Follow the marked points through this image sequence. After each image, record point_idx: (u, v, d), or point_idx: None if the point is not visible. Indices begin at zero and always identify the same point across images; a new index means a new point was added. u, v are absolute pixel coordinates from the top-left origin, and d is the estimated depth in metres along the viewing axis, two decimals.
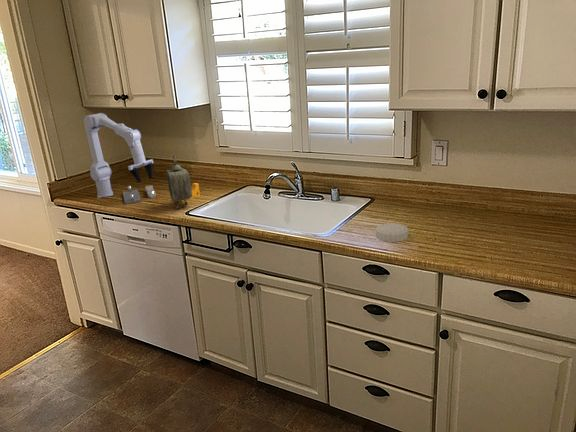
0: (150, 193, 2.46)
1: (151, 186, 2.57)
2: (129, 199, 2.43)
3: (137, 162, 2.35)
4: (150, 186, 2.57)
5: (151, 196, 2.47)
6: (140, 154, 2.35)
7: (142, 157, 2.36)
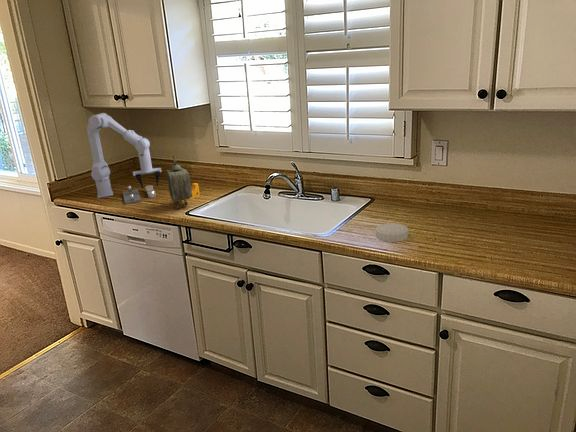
0: (150, 193, 2.46)
1: (151, 186, 2.57)
2: (129, 199, 2.43)
3: (141, 169, 2.47)
4: (150, 186, 2.57)
5: (151, 196, 2.47)
6: (144, 163, 2.45)
7: (146, 166, 2.46)
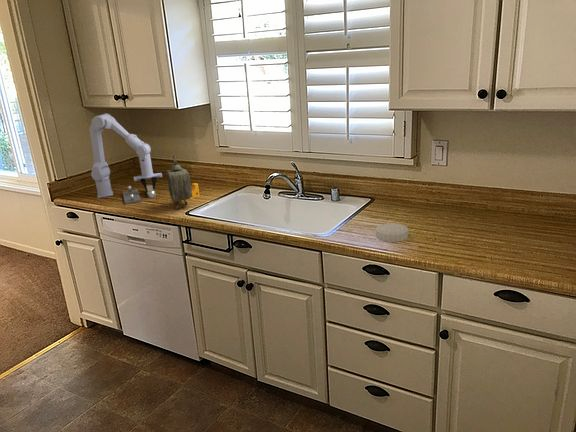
0: (150, 193, 2.46)
1: (151, 186, 2.57)
2: (129, 199, 2.43)
3: (142, 175, 2.48)
4: (150, 186, 2.57)
5: (151, 196, 2.47)
6: (145, 168, 2.46)
7: (147, 171, 2.47)
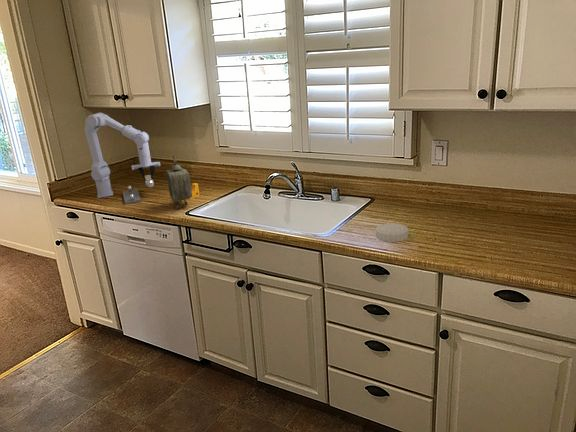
0: (148, 182, 2.44)
1: (149, 176, 2.55)
2: (129, 199, 2.43)
3: (140, 163, 2.46)
4: (148, 176, 2.55)
5: (149, 185, 2.45)
6: (143, 157, 2.44)
7: (145, 160, 2.45)
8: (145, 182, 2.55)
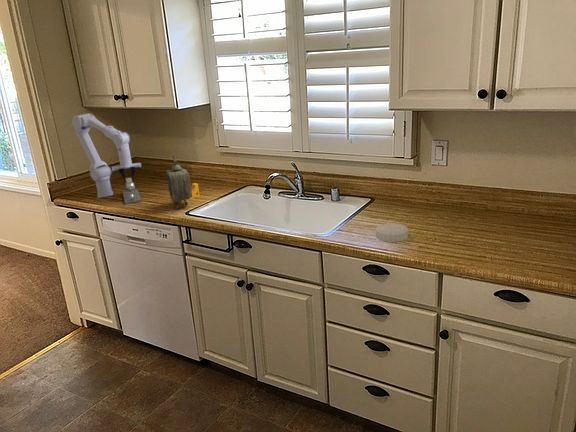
0: (129, 185, 2.41)
1: (130, 178, 2.52)
2: (129, 199, 2.43)
3: (121, 164, 2.43)
4: (129, 178, 2.52)
5: (130, 188, 2.42)
6: (123, 158, 2.41)
7: (125, 161, 2.42)
8: None
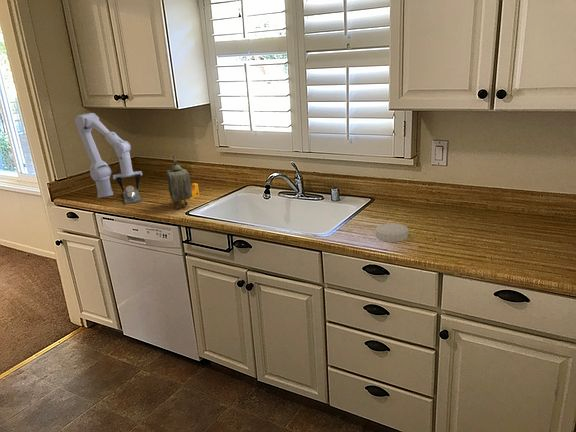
0: None
1: (132, 187, 2.53)
2: (129, 199, 2.43)
3: (122, 173, 2.44)
4: (131, 187, 2.54)
5: None
6: (124, 166, 2.42)
7: (126, 169, 2.43)
8: None
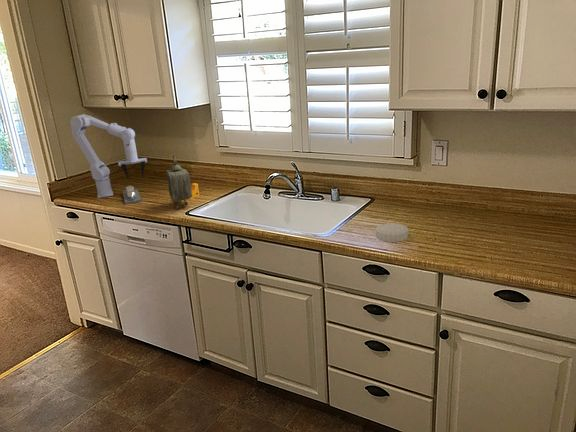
0: None
1: (132, 187, 2.53)
2: (129, 199, 2.43)
3: (127, 159, 2.48)
4: (131, 187, 2.54)
5: None
6: (130, 153, 2.46)
7: (131, 156, 2.47)
8: None
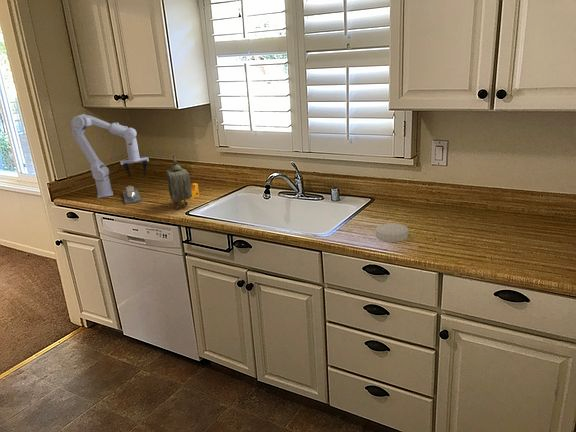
0: None
1: (132, 187, 2.53)
2: (129, 199, 2.43)
3: (129, 159, 2.50)
4: (131, 187, 2.54)
5: None
6: (132, 152, 2.48)
7: (133, 155, 2.49)
8: None
